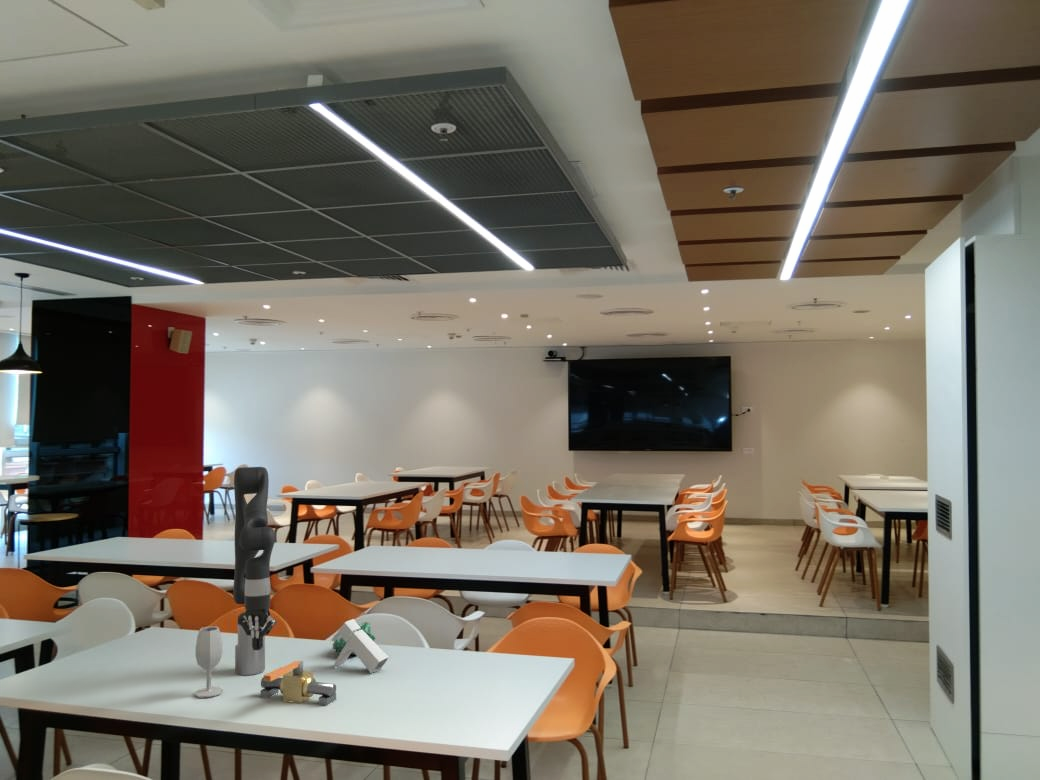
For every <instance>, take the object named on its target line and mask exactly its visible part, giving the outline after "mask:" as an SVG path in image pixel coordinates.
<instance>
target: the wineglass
mask: <svg viewBox="0 0 1040 780" xmlns="http://www.w3.org/2000/svg"><path fill="white" fill-rule="evenodd" d="M195 643H196V644H195V659H196V664H197V665H198V666H199V667H201V668H202V669H203V670H204V671H205V672H206V687H204V688H203V687H202V688H200V689H197V690H196V691H195V692H194V697H196V698H198V699H205V698H213V697H217V696H219V695H221V694H222V693H223V691H224V688H222V687H220V686H212V670H213V669H214V668H216V666H217V665H219V663H220V662H221V659H222V654H223V641H222V633H221V631H220V627H218V626H216V625H215V626H206V627H205V626H204V627H201V628H200V629H199V631H198V634H197V637H196V642H195Z"/></svg>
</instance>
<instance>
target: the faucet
mask: <svg viewBox="0 0 1040 780" xmlns="http://www.w3.org/2000/svg"><path fill="white" fill-rule="evenodd" d="M360 629H361V628H360V626H359V625H358V623H357V621H356V620H355V619H354V618H352V619H349V620H347V621H345V622H343V624H342V625H341V626H340V628H339V630H338V631H337V633H336V634H334V635H333V637H332V639H331V641H332V642H334V641H335V640H338V639H339V637H340V636H341V637H342V638H343V639H344V640H345V641H346V642H347V643H346V645H345V646H344V648H343V649H342V651H341V652H340V653H339V654H338V657H337V658H336V660H335V662H334V664H333V667H334V668H335V667H337V666H339V665H341V666H342V664H343V665H345V664H346V661H347V660H348V659H349V657H350V655H352V654H351V653H352V651H353V652H354V653H355V654H356V655H355V654H354V655H355V656H356V657H357V658H358V659H359V660H360V662H361V663H362V664H363V666H364V667H365V668H366V669H367V671H368V672H369V673H370V674H374V673H375V671H376V672H377V670H378V671H380V670H381V669H382V668H383V666H384V665H385V664H386V663H387V661H388V659H389V658H390V657H389V656H388V655H387V653H385V652H384V650H383V649H382V648H380V646H379V645H378V644H377V643H376V642H375V640H374V641H373V640H372V639H371V638H370V637H369V636H368V635H367V634H366V633H365V632H364V631H363V630H360ZM344 663H345V664H344ZM339 667H340V666H339ZM337 668H338V667H337ZM373 672H374V673H373Z"/></svg>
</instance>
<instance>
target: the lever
mask: <svg viewBox="0 0 1040 780" xmlns="http://www.w3.org/2000/svg"><path fill="white" fill-rule="evenodd" d="M292 670H293V673H294V674H300V673H303V670H304V661H302V660H294V661H293V662H291V663H289V664H286V665H284V666H280V667H278V668H276V669H274V670H272V671H270V672H268V673H265V674H264V675H263V677H264V681H272V680H274V679H276V678H282V677H283V675H285V674H287V673H288V672H290V671H292Z"/></svg>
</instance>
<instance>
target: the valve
mask: <svg viewBox="0 0 1040 780" xmlns="http://www.w3.org/2000/svg"><path fill="white" fill-rule="evenodd" d="M260 687H261V690H260V698H262V697H270V696H272V695H274V694H275V695H277V694H279V691H280V693H281V695H282V701H283V700H286V701H285V702H288V701H292V702H291V703H296V702H299V703H298V704H303V703H305V702H306V701H308V700H310V699H311V698H310V697H312V696H313V697H314V695H318V696H319V695H320V696H319V697H318V705H319V704H321V705H320V706H325V705H327V706H329V705H331V704H332V703H334V702H335V701H334V700H336V701H337V693H336V692H337V685H336V684H335V683H330V682H329V683H328V682H318V681H316V678H315V677H314V671H313V670H305V669H303V673H300V674H294V673H293V670H291V671H289V672H287V674H285V675H283V676H282V677H279V678H276V679H274V680H272V681H264V676H263V677H262V678H261V681H260ZM276 693H277V694H276ZM275 695H274V696H275ZM272 697H273V696H272ZM313 697H312V698H313ZM270 698H271V697H270ZM309 698H310V699H309ZM307 699H308V700H307ZM305 700H306V701H305ZM304 701H305V702H304ZM333 701H334V702H333ZM302 702H303V703H302ZM331 702H332V703H331ZM330 703H331V704H330ZM328 704H329V705H328Z"/></svg>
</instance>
